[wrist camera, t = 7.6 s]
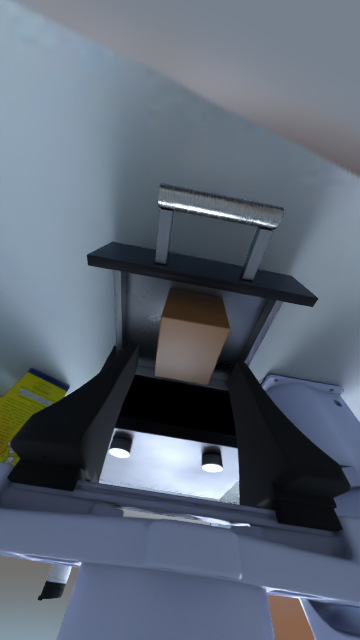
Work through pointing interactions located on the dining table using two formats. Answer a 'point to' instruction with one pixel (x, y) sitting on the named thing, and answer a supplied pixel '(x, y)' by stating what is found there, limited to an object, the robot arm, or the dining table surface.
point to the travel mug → (55, 582)
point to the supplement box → (25, 407)
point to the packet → (190, 336)
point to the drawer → (199, 282)
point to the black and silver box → (173, 439)
